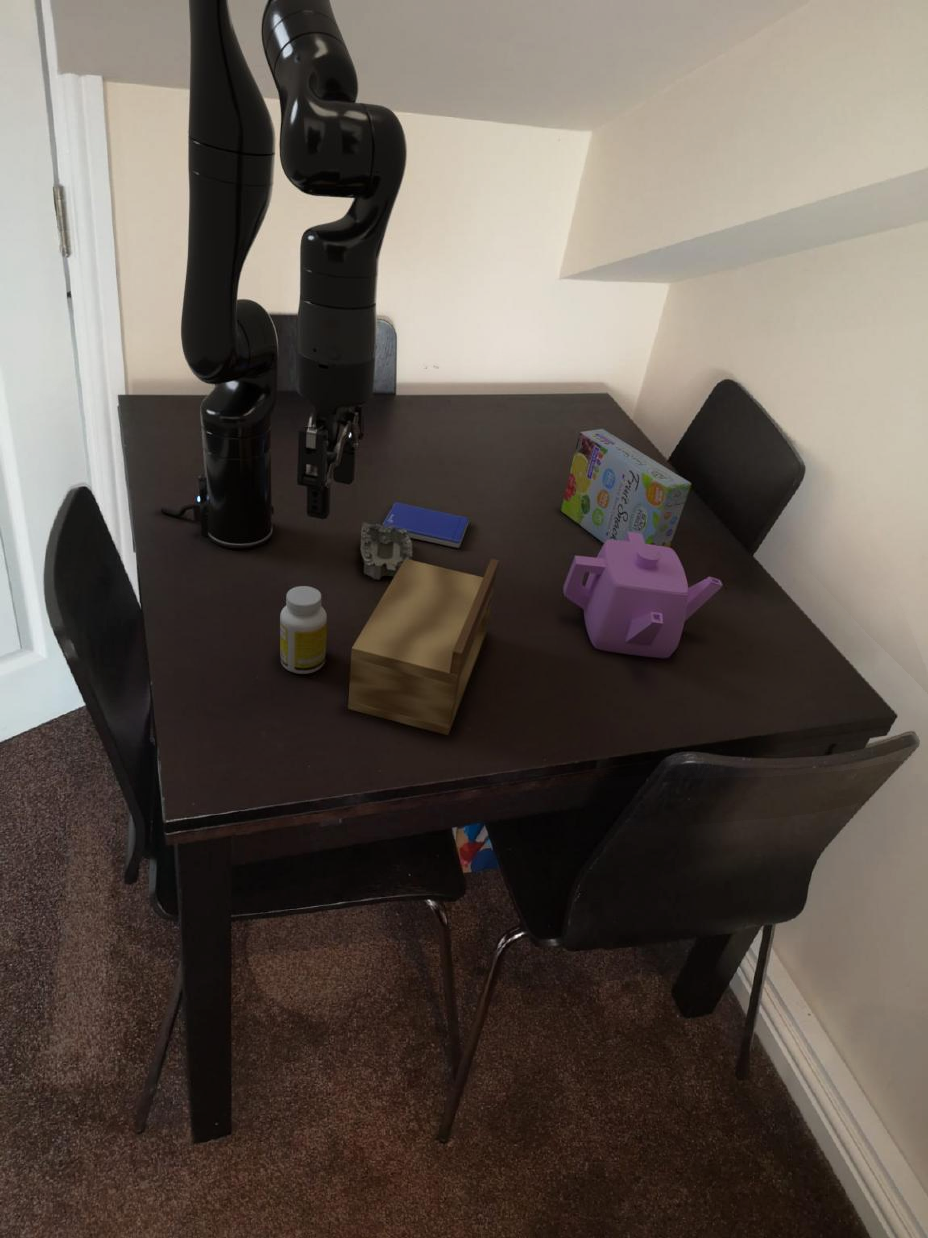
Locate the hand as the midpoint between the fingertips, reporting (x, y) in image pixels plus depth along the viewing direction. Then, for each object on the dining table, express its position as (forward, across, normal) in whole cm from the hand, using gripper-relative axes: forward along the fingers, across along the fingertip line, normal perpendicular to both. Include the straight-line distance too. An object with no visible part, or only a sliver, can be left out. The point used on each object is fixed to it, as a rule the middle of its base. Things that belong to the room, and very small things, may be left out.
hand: (331, 498), depth 85 cm
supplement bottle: (+22, +1, -2) cm, 22 cm away
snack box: (+22, -46, +34) cm, 61 cm away
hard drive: (+22, -36, +4) cm, 43 cm away
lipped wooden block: (+22, -2, +12) cm, 25 cm away
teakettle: (+22, -21, +38) cm, 48 cm away
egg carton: (+22, -24, +1) cm, 33 cm away
